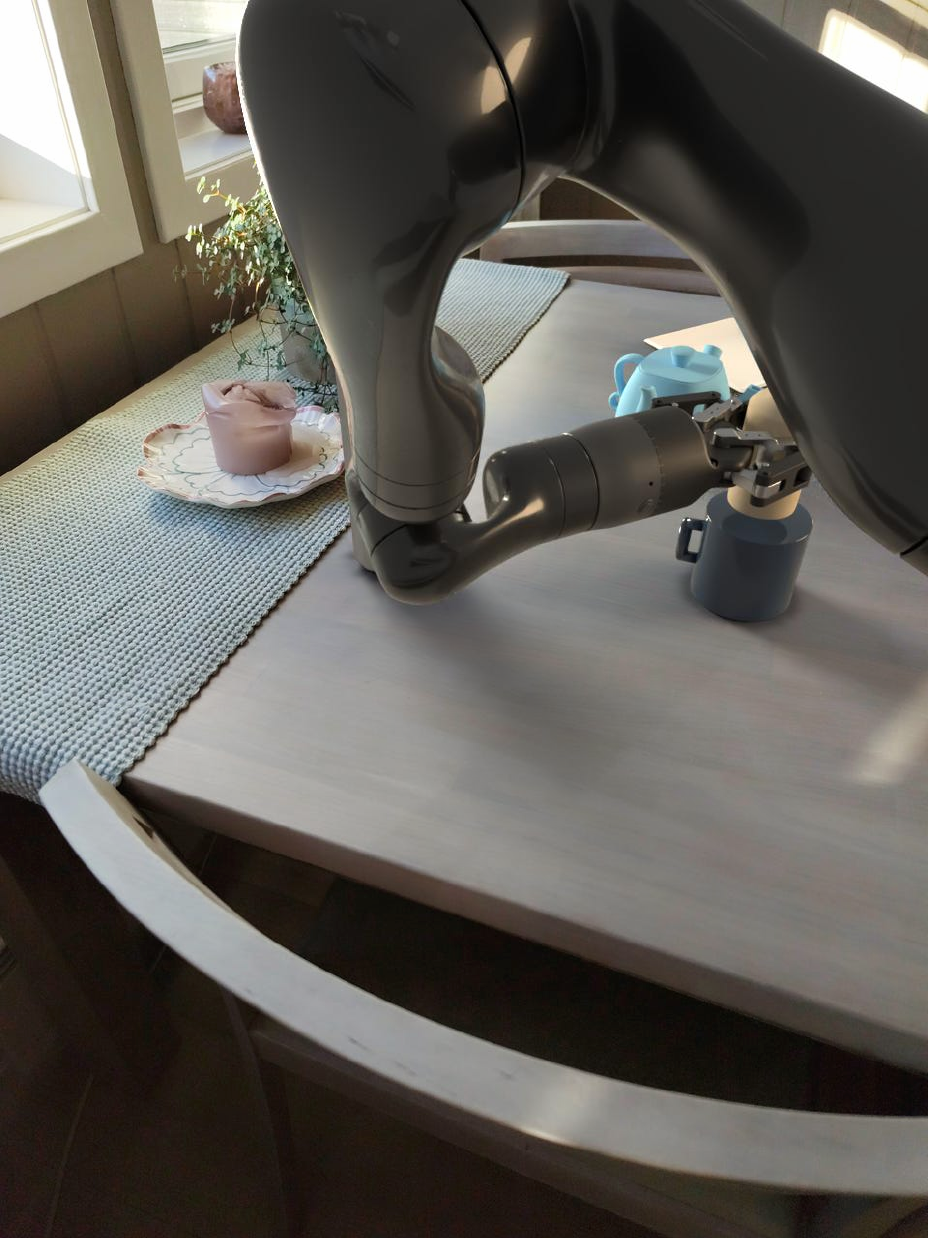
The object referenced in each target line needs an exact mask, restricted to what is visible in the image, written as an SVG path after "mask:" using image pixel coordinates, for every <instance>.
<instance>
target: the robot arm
mask: <svg viewBox="0 0 928 1238" xmlns="http://www.w3.org/2000/svg"><path fill="white" fill-rule="evenodd" d="M235 52H236V53H235V65H236V66H235V67H236V78H237V86H238V92H239V98H240V104H241V109H242V113H243V118H244V122H245V127H246V131H247V134H248V137H249V140H250V145H251V148H252V152H253V154H254V158H255V161H256V164H257V168H258V170H259V173H260V177H261V179H262V182H263V185H264V188H265V191H266V193H267V196H268V198H269V201H270V203H271V206H272V209H273V212H274V214H275V217H276V220H277V222H278V226H279V228H280V231H281V233H282V236H283V238H284V241H285V243H286V247H287V248H288V252H289V254H290V256H291V259H292V262H293V264H294V267H295V270H296V272H297V275H298V279H299V280H300V283H301V287H302V289H303V292H304V295H305V298H306V300H307V302H308V305H309V307H310V309H311V312H312V315H313V317H314V319H315V321H316V324H317V326H318V329H319V330H320V333H321V337H322V339H323V341H324V344H325V346H326V349H328V351H329V353H330V354H329V353H328V354H329V356H330V359H331V361H332V364H333V366H334V370H335V369H336V371H337V374H338V376H339V380H340V383H341V386H342V389H343V393H344V397H345V401H346V407H347V415H348V424H349V434H350V442H351V451H352V457H351V460H350V463H349V466H348V468H347V471H346V472H345V475H344V487H345V493H346V497H347V501H349V502H348V506H349V505H350V508H351V511H352V513H353V516H354V518H355V521H356V524H357V526H358V528H359V531H360V533H361V536H362V538H363V541H364V543H365V546H366V548H367V551H368V553H369V556H370V558H371V561H372V564H373V566H374V569H375V571H376V572H375V571H374V572H375V574H376V576H377V579H378V581H379V584H380V585H381V587H382V588H383V590H384V592H385V593H386V594H387V595H388V596H389V597H391V598H392V599H394V600H395V601H397V602H400V603H404V604H408V605H413V606H425V605H431V604H436V603H439V602H442V601H443V600H446V599H448V598H450V597H451V596H453V595H455V594H457V593H459V592H460V591H461V590H463V589H464V588H466V587H467V586H468V585H470V584H472V583H474V582H475V581H476V580H478V579H479V578H481V577H482V576H484V575H485V574H486V573H488V572H490V571H491V570H492V569H495V568H496V567H498V566H500V565H501V564H503V563H505V562H507V561H509V560H510V559H512V558H514V557H517V556H519V555H520V554H522V553H524V552H526V551H528V550H531V549H533V548H535V547H538V546H540V545H543V544H547V543H550V542H555V541H557V540H561V539H564V538H568V537H572V536H575V535H578V534H582V533H587V532H591V531H600V530H606V529H613V528H617V527H621V526H624V525H628V524H633V523H635V522H639V521H643V520H645V519H649V518H653V517H656V516H659V515H663V514H667V513H670V512H673V511H678V510H680V509H685V508H687V507H690V506H692V505H693V504H695V503H696V502H697V501H698V500H699V499H700V498H702V497H703V496H704V495H705V494H706V493H707V492H708V491H710V490H712V489H729V488H731V487H735V486H736V485H737V486H739V487H741V488H743V489H745V490H746V491H748V492H750V493H751V497H750V501H749V503H750V504H751V505H752V506H754V507H759V508H762V507H765V506H767V505H770V504H772V503H774V502H776V501H778V500H780V499H782V498H784V497H786V496H788V495H790V494H792V493H794V492H796V491H798V490H800V489H802V490H803V489H804V488H806V487H809V486H810V483H811V479H812V475H813V476H814V477H815V479H816V480H817V481H818V483H819V484H820V486H821V487H822V489H823V491H824V492H825V493H826V494H827V496H828V497H829V498H830V499H831V501H832V502H833V503H834V504H835V506H836V507H837V508H838V509H839V510H840V512H841V513H842V514H843V515H844V516H846V518H847V519H849V520H850V522H852V523H853V524H854V525H855V526H856V527H857V528H858V529H860V530H861V532H863V533H865V534H866V535H867V536H869V537H870V538H871V539H873V540H874V541H875V542H876V543H878V544H879V545H880V546H882V547H883V548H884V549H886V550H887V551H889V552H891V554H894V555H898V554H899V556H898V557H899V558H900V559H901V561H904V562H905V563H907V565H909V566H911V567H912V568H914V569H916V570H917V571H918V572H920V573H922V574H923V575H924V576H926V577H927V578H928V113H927V112H924V111H923V110H921V109H919V108H917V107H915V105H912V104H910V102H907V101H905V100H904V99H902V98H901V97H898V96H897V95H894V94H893V93H891V92H889V91H888V90H886V89H884V88H882V87H880V86H878V85H876V84H875V83H873V82H871V81H869V80H867V79H866V78H864V77H863V76H861V75H859V74H857V73H855V72H853V71H852V70H850V69H848V68H847V67H845V66H844V65H842V64H840V63H838V62H836V61H835V60H833V59H831V58H830V57H828V56H826V55H825V54H823V53H821V52H819V51H818V50H816V49H814V48H813V47H811V46H810V45H809V44H807V43H805V42H804V41H803V40H801V39H799V38H798V37H796V36H795V35H793V34H792V33H790V32H789V31H787V30H785V29H784V28H783V27H781V26H780V25H778V24H777V23H776V22H774V21H773V20H771V19H770V18H768V17H767V16H765V15H764V14H762V13H761V12H760V11H759V10H757V9H755V8H754V7H753V6H751V5H750V4H748V3H747V2H745V1H744V0H246V2H245V4H244V6H243V8H242V10H241V13H240V16H239V20H238V24H237V31H236V47H235ZM556 179H565V180H569V181H573V182H575V183H578V184H580V185H582V186H584V187H585V188H588V189H589V190H591V191H593V192H596V193H598V194H599V195H601V196H602V197H605V198H607V199H608V200H610V201H611V202H613V203H615V204H617V205H618V206H619V207H621V208H623V209H625V210H626V211H628V212H629V213H630V214H632V215H633V216H634V217H636V218H638V219H639V220H640V221H642V222H643V223H645V224H646V225H647V226H648V227H649V228H651V229H653V230H654V231H655V232H657V233H658V234H660V235H661V236H662V237H664V238H665V239H667V240H668V241H669V242H671V243H672V244H674V245H675V246H676V247H677V248H678V249H679V250H680V251H681V252H683V253H684V254H685V255H686V256H687V258H690V259H691V260H692V261H693V263H695V265H696V266H697V267H698V268H699V269H700V270H701V271H702V272H703V273H704V274H705V276H706V277H707V278H708V279H709V280H710V282H711V283H712V285H713V286H714V287H715V289H716V291H717V292H718V293H719V295H720V296H721V298H722V299H723V301H724V302H725V303H726V305H727V307H728V309H729V311H730V314H731V315H732V317H734V319H735V321H736V323H737V324H738V326H739V328H740V330H741V332H742V334H743V336H744V338H745V340H746V342H747V345H748V347H749V349H750V351H751V353H752V355H753V357H754V360H755V362H756V364H757V366H758V368H759V370H760V372H761V375H762V377H763V379H764V381H765V383H766V385H767V388H768V389H769V391H770V394H771V396H772V398H773V400H774V402H775V404H776V406H777V408H778V410H779V412H780V414H781V416H782V418H783V420H784V422H785V424H786V426H787V428H788V429H789V431H790V433H791V435H792V437H774V436H773V435H772V433H771V432H769V431H742V430H743V426H744V421H745V417H746V413H747V409H748V405H749V401H750V400H747V401H743V402H742V401H741V400H739V399H737V398H735V397H734V398H732V397H730V399H728V400H726V401H724V400H721V393H719V392H716V391H707V392H699V393H690V394H682V395H674V396H666V397H657V398H653V399H652V400H651V406H650V410H646V411H641V412H637V413H632V414H628V415H624V416H619V417H615V416H614V417H612V418H605V419H602V420H598V421H594V422H591V423H587V424H584V425H581V426H578V427H576V428H574V429H571V430H569V431H565V432H562V433H558V434H554V435H550V436H545V437H541V438H537V439H536V438H535V439H532V440H528V441H523V442H520V443H516V444H512V445H507V446H504V447H502V448H500V449H498V450H496V451H494V452H493V453H492V454H490V456H489V457H488V458H487V459H486V462H485V463H484V466H483V470H482V475H481V476H482V477H481V489H482V490H481V491H482V500H483V504H484V511H485V517H486V519H485V520H483V521H478V522H474V521H473V519H472V518H471V517H472V516H471V515H470V513H469V510H468V508H467V506H466V504H465V501H466V500H467V498H468V497H469V495H470V493H471V491H472V489H473V486H474V484H475V481H476V476H477V473H478V469H479V463H480V457H481V451H482V445H483V439H484V433H485V428H486V427H485V426H486V394H485V390H484V386H483V381H482V378H481V374H480V372H479V370H478V368H477V366H476V364H475V362H474V360H473V358H472V356H470V354H469V352H468V351H467V350H466V348H465V347H464V346H463V345H462V343H461V342H459V341H458V340H457V339H456V338H455V337H454V336H453V335H452V334H451V333H449V332H448V330H446V329H445V328H443V327H442V326H440V325H439V324H438V323H437V318H438V313H439V309H440V306H441V302H442V299H443V295H444V294H445V293H444V292H445V290H446V287H447V284H448V282H449V280H450V276H451V274H452V272H453V269H454V267H455V266H456V264H457V263H458V262H459V261H460V260H461V259H462V257H464V256H467V255H468V254H471V253H472V252H474V251H475V250H477V249H479V248H480V247H482V246H483V245H484V244H485V243H487V242H488V241H489V240H490V239H491V238H492V237H493V236H494V235H495V234H497V233H498V232H499V231H500V230H501V229H503V227H504V226H505V225H506V224H508V223H509V222H510V221H511V220H513V218H514V217H515V216H517V215H518V214H519V213H520V212H521V211H522V210H523V209H525V208H526V206H528V205H529V204H530V203H531V202H532V201H533V200H534V199H535V198H536V197H538V195H540V194H541V193H542V192H543V191H544V190H545V189H547V187H549V186H550V184H552V183H553V182H554V181H555V180H556ZM702 404H704V408H703V412H698V413H696V414H695V415H693V411H694V408H695V406H697V405H702ZM754 445H760V446H759V450H758V454H757V458H756V461H755V463H754V464H753V465H751V466H750V464H751V461H752V457H753V453H754ZM781 450H787V451H786V454H785V458H783V459H781V460H779V461H772V460H773V456H774V453H775V452H776V451H781Z"/></svg>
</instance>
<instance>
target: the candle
mask: <svg viewBox="0 0 928 1238" xmlns="http://www.w3.org/2000/svg"><path fill="white" fill-rule="evenodd" d="M741 431H769V432H771V433H772V435H773V436H774V437H792V435H791V433H790V431H789V429H788V428H787V426H786V424H785V422H784V420H783V418H782V416H781V414H780V412H779V410H778V408H777V406H776V404H775V402H774V400H773V398H772V396H771V394H770V391H769V389H768V387H767V388H764V389H763V390H761V391H760V392H758V393H756V394H755V395H753V396H752V397H751V398H750V401H749V405H748V409H747V413H746V417H745V421H744V426H743V430H741ZM759 446H760V445H754V453H753V457H752V461H751V464H750V466H751V465H753V464H754V463H755V461H756V458H757V454H758V450H759ZM786 451H787V450H781V451H776V452H775V453H774V456H773V460H772V461H779V460H781V459H783V458H785V454H786ZM727 490H728V496H727V498H728V502H729V503H730V505H731V506H732V507H733V508H734V509H736V510H737V511H739V512H740V513H743V514H745V515H747V516H750V517H754V518H758V519H766V520H775V519H782V518H785V517H787V516H789V515H791V514H792V513H793V512H794V510H795V508H796V506H797V503H799V500H800V496H801V493H802V490H803V489H800V490H798V491H796V492H794V493H792V494H790V495H788V496H786V497H784V498H782V499H780V500H778V501H776V502H774V503H772V504H770V505H767V506H765V507H762V508H759V507H754V506H752V505H751V504H750V503H749V501H750V497H751V493H750V492H748V491H746V490H745V489H743V488H741V487H739V486H737V485H736V486H735V487H731V488H727Z"/></svg>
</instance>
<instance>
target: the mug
mask: <svg viewBox="0 0 928 1238" xmlns="http://www.w3.org/2000/svg"><path fill="white" fill-rule="evenodd" d="M727 496H728V489H727V490H724V491H721V492H719V493H717V494H715V495H714V496H713V497H711V498H710V499H709V501H707V504H706V507H705V512H704V517H703V519H700V518H695V517H689V516H685V517H683V519H682V520H681V523H680V525H679V530H678V533H677V534H678V536H677V540H676V545H675V546H676V547H675V550H674V552H675V554H674V557H675V559H676V560H677V561H680V562H684V563H690V564H693V569H692V574H691V579H690V590H691V593H692V595H693V597H694V598H695V599H696V601H697V602H698V603H699V604H700V605H701V606H703V607H704V608H705V609H706V610H708V611H709V612H711V613H714V614H715V615H718V616H720V617H722V618H726V619H728V620H734V621H739V622H748V623H749V622H750V623H751V622H752V623H754V622H755V623H756V622H757V623H758V622H764V621H768V620H769V621H770V620H773V619H776V618H777V617H779V616H781V615H782V614H783V613H785V611H786V610H788V607H789V606H790V603H791V600H792V596H793V593H794V590H795V587H796V584H797V580H798V576H799V573H800V570H801V567H802V563H803V562H804V561H803V560H804V558H805V555H806V551H807V547H808V544H809V541H810V538H811V535H812V531H813V528H814V520H813V517H812V515H811V513H810V512H809V511H808V510H807V508H806V507H804V506H803V505H802V504H801V503H799V502H798V503H797V506H796V508H795V510H794V512H793V513H792V514H791V515H789V516H787V517H785V518H782V519H775V520H766V519H758V518H754V517H750V516H747V515H745V514H743V513H740V512H739V511H737V510H736V509H734V508H733V507H732V506H731V505H730V503H729V502H728V498H727ZM693 531H697V532H700V535H699V539H698V545H697V546H698V547H697V550H696V551H692V550H689V549H690V544H691V540H692V534H693Z"/></svg>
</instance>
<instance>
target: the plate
mask: <svg viewBox="0 0 928 1238" xmlns="http://www.w3.org/2000/svg"><path fill="white" fill-rule="evenodd" d="M643 343H644V344H645V346H648V347H649V348H652V349H654V350H655V351H656V350H659V349H662V348H666V347H675V346H689V347H691V348H694V349H695V350H696V351H698V352H702V351H703V349H704V347H705V345H713V346H716V347H718V348H720V349H721V350H722V354H721V356H720V360H721V361H722V363H723V366H724V368H725V372H726V376H727V380H728V384H729V389H730V391H732V392H734V393H737V394H738V395H741V394H743V393H744V392H745V391H746V389H747V387H749V386H750V385H751V384H753V385H755V386H758V387H761V388H763V389H765V388H768V387H767V385H766V383H765V381H764V379H763V377H762V375H761V372H760V370H759V368H758V366H757V364H756V362H755V360H754V357H753V355H752V353H751V351H750V349H749V347H748V345H747V342H746V340H745V338H744V336H743V334H742V332H741V330H740V328H739V326H738V324H737V323H736V321H735V319H734V317H733V316H732V317H728V318H723V319H720V320H716V321H713V322H712V321H711V322H709V323H703V324H700V325H696V326H692V327H687V328H683V329H680V330H677V331H672V332H667V333H665V334H660V335H656V336H652V337H648V338H645V339H644V340H643Z"/></svg>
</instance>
